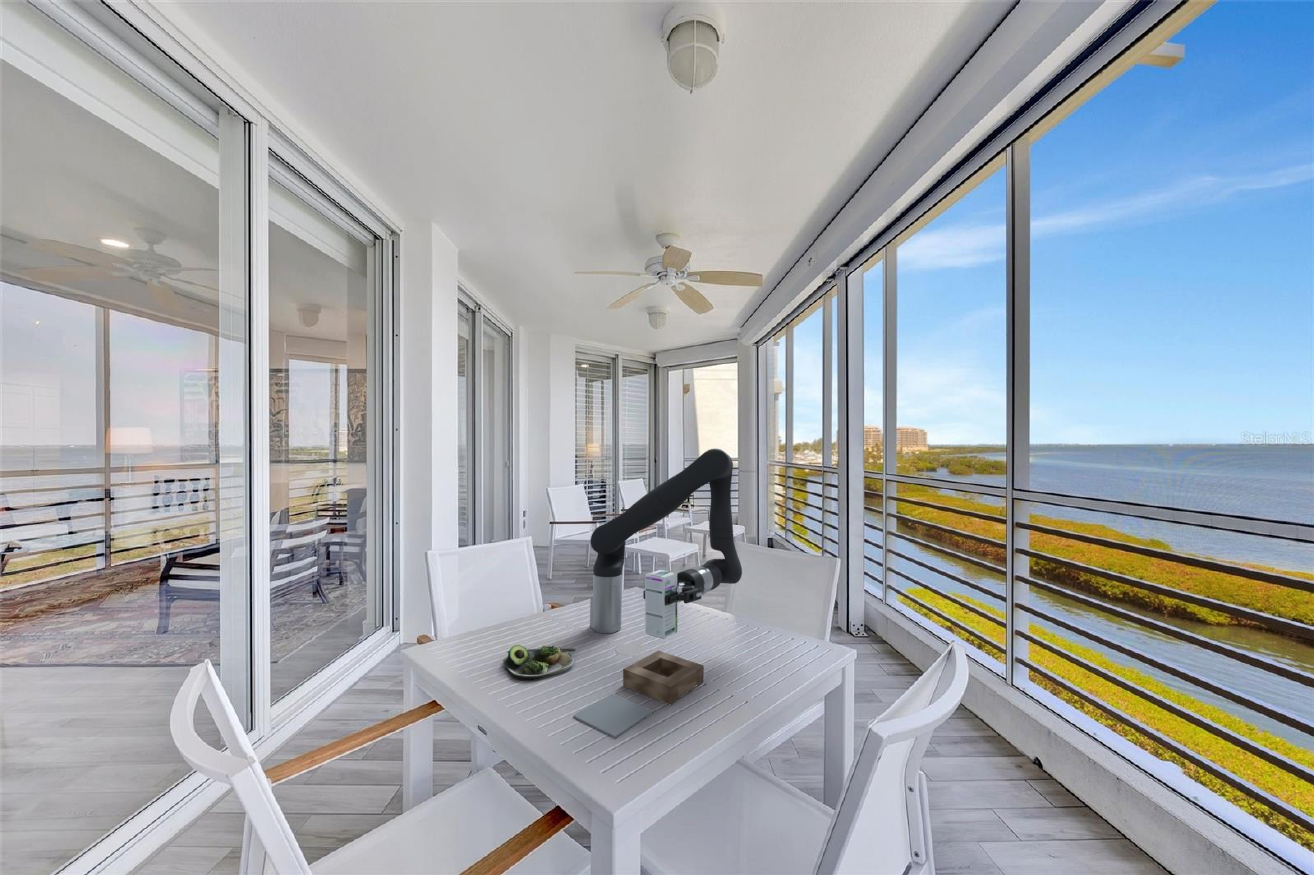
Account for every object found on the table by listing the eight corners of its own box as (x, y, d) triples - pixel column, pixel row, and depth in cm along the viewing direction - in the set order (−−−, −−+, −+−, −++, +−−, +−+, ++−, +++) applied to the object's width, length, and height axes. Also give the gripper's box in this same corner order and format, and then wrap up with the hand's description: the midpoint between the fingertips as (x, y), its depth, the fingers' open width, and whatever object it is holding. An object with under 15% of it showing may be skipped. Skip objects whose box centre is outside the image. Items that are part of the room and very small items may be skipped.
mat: (573, 717, 101) (573, 715, 101) (611, 695, 110) (611, 693, 110) (615, 738, 94) (615, 736, 94) (652, 713, 103) (652, 711, 103)
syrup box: (663, 639, 111) (664, 577, 112) (644, 633, 115) (644, 573, 115) (677, 632, 116) (678, 572, 116) (658, 626, 119) (658, 568, 120)
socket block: (622, 685, 115) (623, 668, 115) (658, 665, 126) (658, 650, 126) (670, 705, 107) (670, 686, 107) (703, 682, 118) (703, 665, 118)
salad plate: (564, 645, 139) (564, 629, 140) (590, 669, 124) (591, 651, 125) (496, 660, 129) (497, 642, 129) (516, 687, 114) (517, 668, 114)
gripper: (671, 564, 132) (632, 576, 118) (717, 573, 123) (680, 587, 109) (671, 592, 131) (631, 607, 118) (716, 602, 123) (680, 620, 109)
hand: (655, 597), depth 114 cm, fingers closed on syrup box, 6 cm apart
